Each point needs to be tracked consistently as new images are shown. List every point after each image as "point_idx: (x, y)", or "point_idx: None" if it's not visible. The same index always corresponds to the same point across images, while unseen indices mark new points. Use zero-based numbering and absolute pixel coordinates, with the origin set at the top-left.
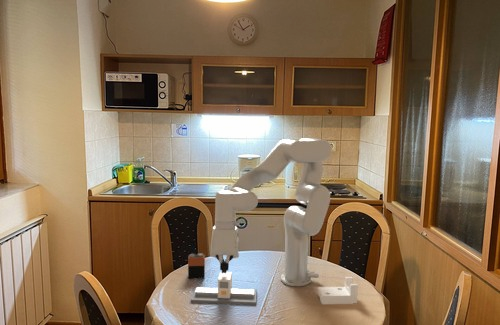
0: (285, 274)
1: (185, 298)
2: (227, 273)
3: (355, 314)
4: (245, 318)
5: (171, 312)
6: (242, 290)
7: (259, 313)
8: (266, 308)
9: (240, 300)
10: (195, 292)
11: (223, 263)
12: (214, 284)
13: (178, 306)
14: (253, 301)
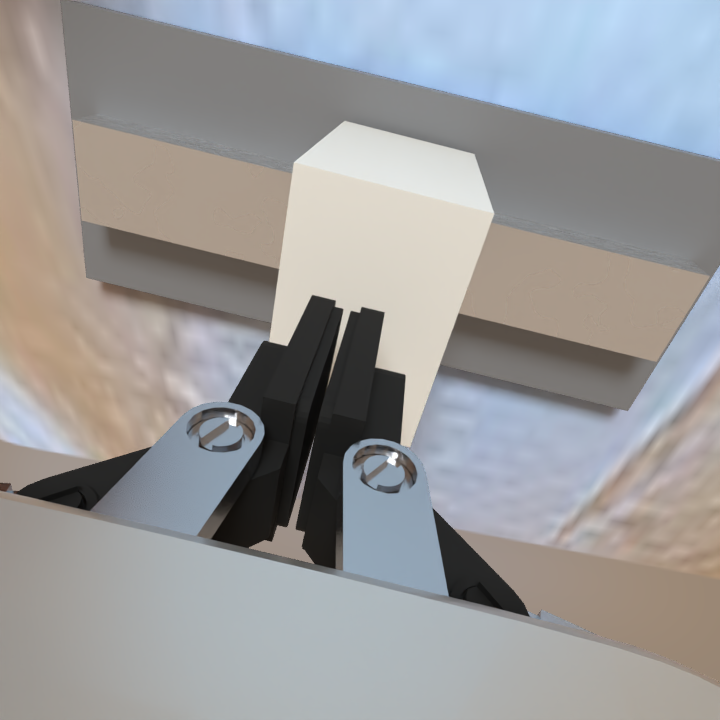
0: None
1: (37, 194)
2: (405, 260)
3: None
4: (481, 517)
5: (14, 376)
6: (571, 274)
7: (593, 493)
8: (678, 453)
9: (506, 363)
10: (90, 219)
11: (280, 523)
12: None
13: (29, 312)
14: (612, 397)
